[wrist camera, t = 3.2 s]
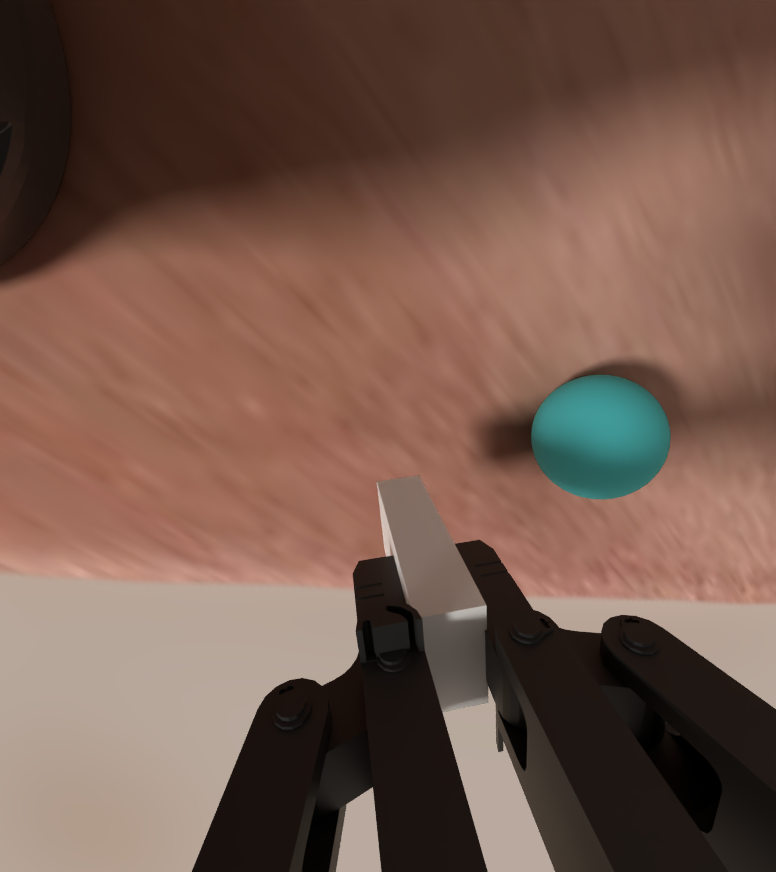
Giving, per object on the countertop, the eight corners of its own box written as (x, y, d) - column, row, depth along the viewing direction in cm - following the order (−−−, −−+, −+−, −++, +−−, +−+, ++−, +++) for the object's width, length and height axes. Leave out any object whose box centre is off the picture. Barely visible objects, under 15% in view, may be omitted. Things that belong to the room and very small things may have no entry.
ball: (512, 371, 20) (576, 400, 15) (619, 358, 21) (716, 382, 16) (510, 475, 22) (568, 533, 17) (609, 460, 23) (693, 512, 18)
